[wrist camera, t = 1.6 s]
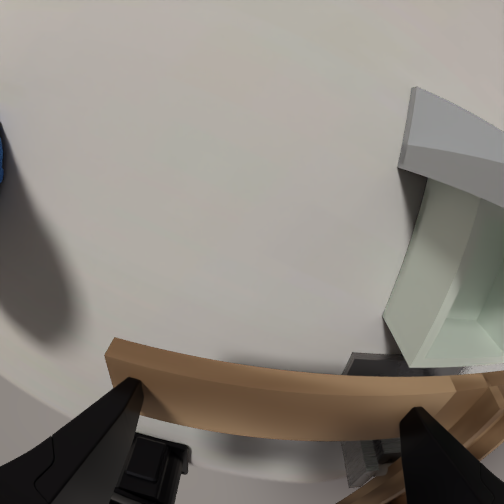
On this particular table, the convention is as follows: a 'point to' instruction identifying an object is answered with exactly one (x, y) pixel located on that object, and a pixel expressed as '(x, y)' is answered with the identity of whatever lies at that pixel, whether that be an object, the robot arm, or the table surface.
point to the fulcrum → (381, 450)
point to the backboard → (453, 147)
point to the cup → (451, 283)
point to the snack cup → (0, 159)
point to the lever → (311, 405)
